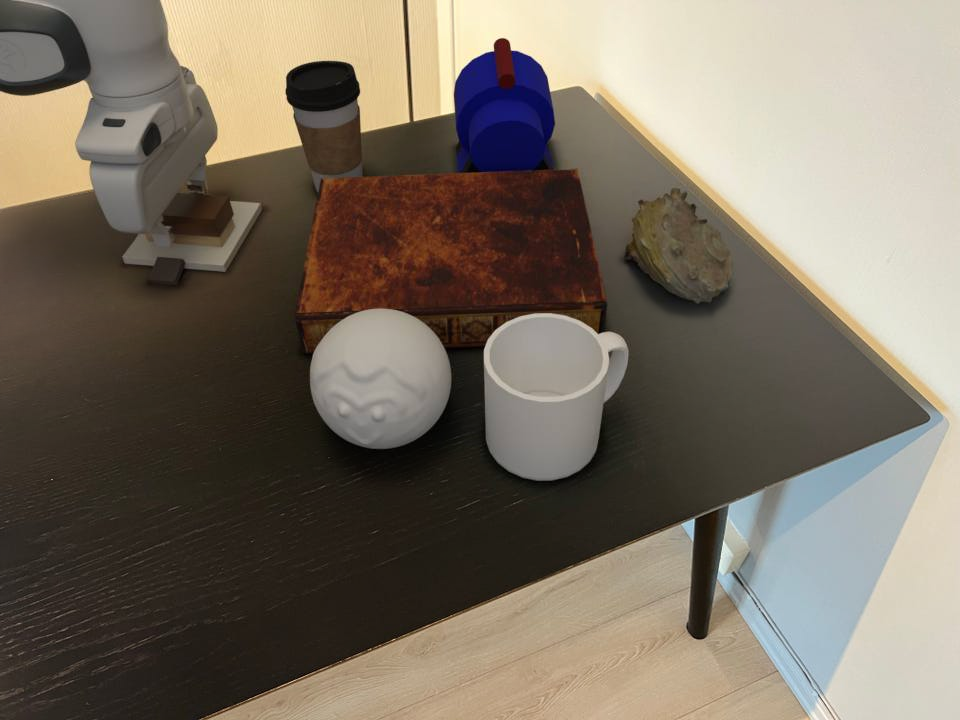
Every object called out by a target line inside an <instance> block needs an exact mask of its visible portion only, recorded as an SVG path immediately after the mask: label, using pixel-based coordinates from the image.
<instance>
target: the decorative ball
mask: <svg viewBox="0 0 960 720" xmlns="http://www.w3.org/2000/svg"><path fill="white" fill-rule="evenodd" d="M309 368H310V369H309V386H310V393H311V397H312V400H313V401H312V402H313V403H314V406H315V408H316V411H317V412H318V414H319V416H320V418H321V419H322V420H323V422H324V423H325V424H326V425H327V426H328V427H329V429H331V430H332V431H333V432H334V433H335V434H336V435H337V436H339V437H340V438H341V439H343V440H345V441H347V442H349V443H351V444H354V445H356V446H359V447H363V448H367V449H374V450H375V449H376V450H387V449H394V448H395V449H396V448H399V447H402V446H405V445H407V444H410V443H412V442H414V441H416V440H418V439H419V438H421V437H422V436H423V435H425V434H426V433H427V432H429V430H430V429H432V428H433V426H434V425H435V424H436V423H437V421H438V420H440V418H441V416H442V414H443V413H444V411H445V409H446V407H447V403H448V401H449V398H450V394H451V388H452V369H451V368H452V367H451V364H450V359H449V356H448V353H447V351H446V348H444V346H443V345H442V343H441V341H440V340H439V338H438V337H437V336H436V334H435V333H434V332H433V331H432V330H431V329H430V328H429V327H428V326H427V325H426V324H424V323H423V322H422V321H420V320H419V319H417V318H415V317H413V316H411V315H409V314H407V313H404V312H401V311H397V310H392V309H370V310H365V311H361V312H358V313H355V314H352V315H350V316H348V317H346V318H345V319H343V320H341V321H340V322H339V323H337V324H336V325H335V326H334V327H333V328H331V329H330V330H329V332H328V333H327V334H326V335H325V336H324V337H323V339H322V340H321V342H320V343H319V345H318V346H317V347H316V349H315V351H314V353H312V358H311V362H310V367H309Z"/></svg>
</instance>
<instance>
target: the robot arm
mask: <svg viewBox="0 0 960 720" xmlns="http://www.w3.org/2000/svg"><path fill="white" fill-rule="evenodd" d="M81 82H85V83H86V84H87V86H88V89H89V92H90V94H91V98H90V99H89V102H88V105H87V110H86V114H85V116H84V117H85V118H84V119H83V122H82V125H81V126H80V130H79V132H78V133H77V135H76V139H75V140H74V141H75V143H74V146H75V151H76V153H77V155H78V157H79V158H80V159H81V161H88V162H90V164H89V171H88V173H89V180H90V183H91V186H92V189H93V192H94V195H95V198H96V199H97V202H98V204H99V207H100V209H101V211H102V213H103V215H104V218H105V219H106V222H107V224H108V225H109V227H111V228H112V229H114V230H115V231H117V232H120V233H125V234H134V235H135V234H137V235H139V234H146V233H148V232H149V233H150V234H151V235H152V238H153V240H154V243H155V244H156V245H157V246H160V247H169V246H170V245H171V244H172V242H173V240H174V239H175V234H174V231H173V228H172V226H164V225H163V224H162V223H161V222H162V221H163V216H162V214H163V212H164V211H165V210H166V208H167V207H168V205H169V204H170V203H171V201H172V200H173V199H174V197H175V196H176V195H177V193H180V191H181V189H182V188H183V186H184V185H185V184H186V187H187V190H188V194H199V195H207V193H208V191H209V189H210V188H209V184H208V182H207V168H208V167H207V165H208V164H207V162H208V160H207V157H206V156H207V154H208V153H209V151H210V150H211V148H212V147H213V145H214V144H216V142H217V141H218V132H219V131H218V129H219V128H218V123H217V121H216V118H215V115H214V112H213V109H212V107H211V104H210V101H209V99H208V97H207V94H206V91H205V90H204V88H203V87H202V86H200V85H199V84H197V81H196V78H195V75H194V73H193V71H192V70H190V69H189V68H188V67H186V66H184V65H181V64H180V62H179V60H178V58H177V57H176V55H175V54H174V52H173V50H172V48H171V45H170V40H169V24H168V20H167V17H166V13H165V11H164V8H163V4H162V2H161V0H0V92H1V93H3V94H8V95H12V96H18V97H19V96H20V97H30V96H36V95H40V94H45V93H49V92H54V91H57V90H61V89H65V88H67V87H70V86H73V85H77V84H79V83H81Z"/></svg>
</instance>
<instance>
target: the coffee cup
mask: <svg viewBox="0 0 960 720" xmlns="http://www.w3.org/2000/svg"><path fill="white" fill-rule="evenodd" d="M285 86H286V87H285V96H286V101H287V103H288V104H289V105H290V106H291V107H292V111H293V115H292V116H293V120H294V123H295V126H296V130H297V133H298V136H299V139H300V142H301V146H302V148H303V152H304V155H305V158H306V161H307V165H308V168H309V171H310V174H311V177H312V181H313V184H314V188H315V190H316V193H317V194H318V191H319V186H320V181H321V178H345V177H364V175H363V174H364V173H363V161H362V160H363V153H362V150H363V149H362V128H361V107H360V106H359V102H358V101H359V100H358V98H359V96H360V94H361V87H360V82H359V81H358V79H357V75H356V72H355V68H354V66H353V65H352V64H351V63H349V62H345V61H339V60H317V61H311V62H306V63H302V64H300V65H297V66H295V67H294V68H292V69H290V70H289V71H288V72H287V74H286V76H285Z"/></svg>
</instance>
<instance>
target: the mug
mask: <svg viewBox="0 0 960 720" xmlns="http://www.w3.org/2000/svg"><path fill="white" fill-rule="evenodd" d="M610 352H611V355H610V354H609V353H610ZM609 355H610V356H609ZM629 355H630V354H629V348H628V345H627V343H626V341H625V338H624V337H622V336H621V335H620V334H618V333H616V332H613V331H604V333H600V334H597V333H596V332H595V331H594V330H593V329H592V328H591V327H589V326H588V325H586V324H584V323H583V322H581V321H579V320H576V319H573V318H571V317H568V316H564V315H558V314H552V313H538V314H530V315H525V316H520V317H518V318H515V319H513V320H510V321H508V322H506V323H505V324H503V325H502V326H500V327H499V328H498V329H496V330H495V331H494V333H493V334H492V335H491V336H490V337H489V339H488V341H487V343H486V346H485V347H484V349H483V379H484V420H485V421H484V422H485V423H484V424H485V442H486V444H487V448H488V451H489V454H490V455H491V456H492V458H493V459H494V460H495V461H496V463H497V464H498V465H500V466H501V467H502V468H504V469H505V470H506V471H507V472H508V473H511V474H513V475H516V476H518V477H520V478H522V479H528V480H532V481H539V482H540V481H541V482H543V481H547V482H548V481H556V480H559V479H565V478H568V477H570V476H572V475H574V474H576V473H579V472H580V471H581V470H582V469H584V468H585V467H586V466H587V465H588V464H589V463H590V462H591V461H592V459H593V457H594V455H595V454H596V452H597V448H598V444H599V439H600V432H601V431H600V430H601V424H602V418H603V417H602V416H603V411H604V404H605V403H606V402H607V401H608V400H609V399H610V398H612V397H613V395H614V394H615V392H616V391H617V390H618V389H619V387H620V385H621V383H622V381H623V379H624V377H625V373H626V371H627V367H628V364H629V363H628V362H629Z"/></svg>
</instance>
